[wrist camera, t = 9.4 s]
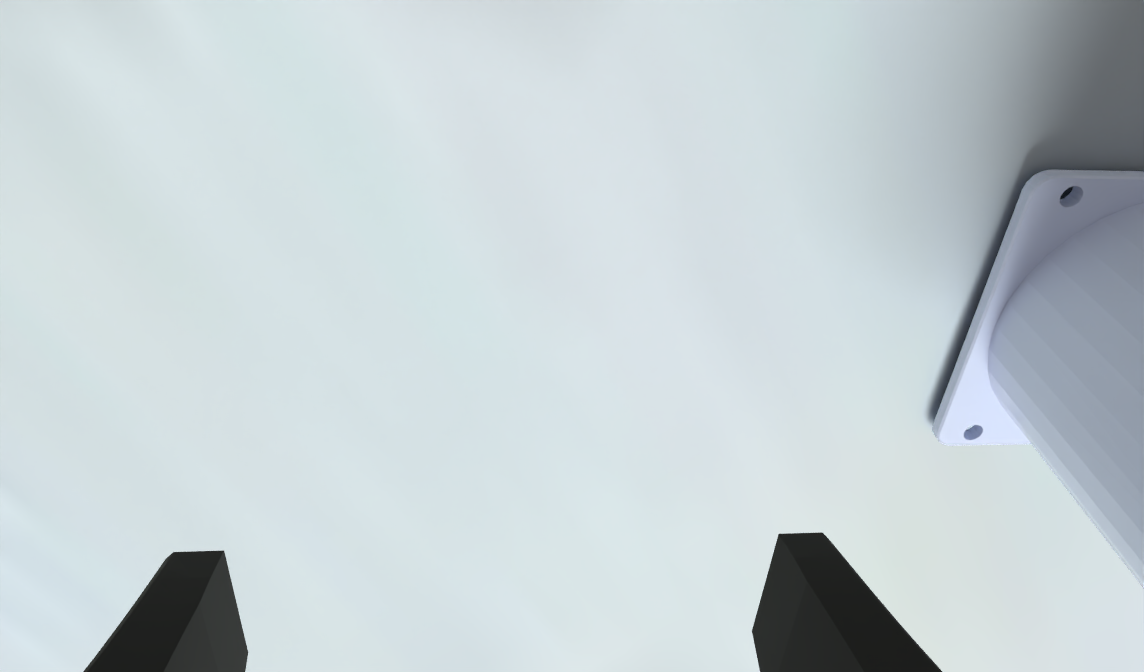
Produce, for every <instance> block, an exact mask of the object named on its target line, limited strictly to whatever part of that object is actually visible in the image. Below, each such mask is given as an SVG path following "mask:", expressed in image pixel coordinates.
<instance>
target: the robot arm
mask: <svg viewBox="0 0 1144 672" xmlns="http://www.w3.org/2000/svg"><path fill="white" fill-rule="evenodd" d="M1070 187H1073V190H1072V191H1071V193H1070V194H1069V195H1068V196H1066V197H1065V198H1064V199H1060V196H1061V195H1062V194H1063V192H1064V191H1065V190H1067V189H1068V188H1070ZM971 426H973V427H972V428H970V429H968V430H966V429H967V428H969V427H971ZM932 431H933V433H934V435H935V437H936V438H937V440H938V441H939V442H940V443H942V444H943V445H949V446H954V445H1007V444H1032V446H1033V447H1034V448H1035V449H1036V451H1037V452H1038V453H1039V455H1040V456H1041V457H1042V458H1043V460H1044V461H1045V462H1046V464H1047V465H1048V466H1049V467H1050V469H1051V470H1052V471H1053V472H1054V474H1055V475H1056V476H1057V478H1058V479H1059V480H1060V481H1061V483H1062V484H1063V485H1064V487H1065V488H1066V489H1067V490H1068V492H1069V493H1070V494H1071V496H1072V497H1073V498H1074V499H1075V501H1076V502H1077V503H1078V505H1079V506H1080V507H1081V508H1082V510H1083V511H1084V512H1085V514H1086V515H1087V516H1088V517H1089V519H1090V520H1091V521H1092V523H1093V524H1094V525H1095V526H1096V528H1097V529H1098V530H1099V532H1100V533H1101V534H1102V535H1103V537H1104V538H1105V539H1106V541H1107V542H1108V543H1109V544H1110V546H1111V547H1112V548H1113V550H1114V551H1115V552H1116V553H1117V555H1118V556H1119V557H1120V559H1121V560H1122V561H1123V562H1124V564H1125V565H1126V566H1127V568H1128V569H1129V570H1130V571H1131V573H1132V574H1133V575H1134V577H1135V578H1136V579H1137V580H1138V582H1139V583H1140V584H1141V586H1142V587H1143V588H1144V171H1102V170H1045V171H1041V172H1039V173H1037V174H1035V175H1033V176H1032V177H1031V178H1030V179H1029V180H1028V181H1027V182H1026V184H1025V186H1024V187H1023V189H1022V191H1021V194H1020V196H1019V199H1018V202H1017V204H1016V207H1015V210H1014V212H1013V215H1012V218H1011V220H1010V223H1009V225H1008V228H1007V231H1006V233H1005V236H1004V239H1003V241H1002V244H1001V247H1000V249H999V252H998V254H997V257H996V260H995V262H994V265H993V268H992V270H991V273H990V275H989V278H988V281H987V283H986V286H985V289H984V291H983V294H982V297H981V299H980V302H979V304H978V307H977V310H976V312H975V315H974V318H973V320H972V323H971V326H970V328H969V331H968V333H967V336H966V339H965V341H964V344H963V347H962V349H961V352H960V354H959V357H958V360H957V362H956V365H955V368H954V370H953V373H952V376H951V378H950V381H949V383H948V386H947V389H946V391H945V394H944V397H943V399H942V402H941V405H940V407H939V410H938V412H937V415H936V418H935V420H934V423H933V427H932ZM752 633H753V638H754V643H755V648H756V653H757V658H758V663H759V668H760V672H942V671H941V670H940V669H939V667H938V666H937V665H936V664H935V663H934V662H933V661H932V660H931V659H930V657H929V656H928V655H927V654H926V653H925V652H924V651H923V650H922V649H921V648H920V646H919V645H918V644H917V643H916V642H915V641H914V640H913V639H912V637H911V636H910V635H909V634H908V633H907V632H906V631H905V629H904V628H903V627H902V626H901V625H900V624H899V623H898V621H897V620H896V619H895V618H894V617H893V616H892V614H891V613H890V612H889V611H888V610H887V608H886V607H885V606H884V605H883V604H882V603H881V601H880V600H879V599H878V598H877V597H876V596H875V594H874V593H873V592H872V591H871V590H870V588H869V587H868V586H867V585H866V584H865V582H864V581H863V580H862V579H861V578H860V576H859V575H858V574H857V573H856V572H855V570H854V569H853V568H852V567H851V565H850V564H849V563H848V562H847V561H846V559H845V558H844V557H843V556H842V555H841V553H840V552H839V551H838V550H837V549H836V547H835V546H834V545H833V544H832V543H831V541H830V540H829V539H828V538H827V537H826V536H825V535H824V534H823V533H794V534H779V535H778V539H777V542H776V546H775V550H774V553H773V557H772V561H771V564H770V568H769V571H768V575H767V579H766V582H765V586H764V589H763V593H762V597H761V600H760V604H759V608H758V611H757V615H756V618H755V622H754V626H753V629H752ZM247 656H248V650H247V646H246V642H245V638H244V633H243V629H242V625H241V621H240V616H239V612H238V608H237V604H236V599H235V595H234V591H233V587H232V582H231V578H230V574H229V570H228V566H227V561H226V557H225V553H224V551H198V552H173V553H172V554H171V555H170V556H169V557H167V558H166V559H165V561H164V562H163V564H162V565H161V567H160V568H159V570H158V571H157V572H156V574H155V575H154V577H153V578H152V580H151V581H150V582H149V584H148V585H147V587H146V588H145V589H144V591H143V592H142V594H141V595H140V597H139V598H138V599H137V601H136V602H135V604H134V605H133V606H132V608H131V609H130V611H129V612H128V613H127V615H126V616H125V617H124V619H123V620H122V622H121V623H120V624H119V626H118V627H117V628H116V630H115V631H114V632H113V634H112V635H111V636H110V638H109V639H108V640H107V642H106V643H105V644H104V646H103V647H102V648H101V650H100V651H99V652H98V654H97V655H96V656H95V658H94V659H93V660H92V661H91V663H90V664H89V665H88V667H87V668H86V669H85V670H84V672H245V669H246V662H247Z"/></svg>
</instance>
